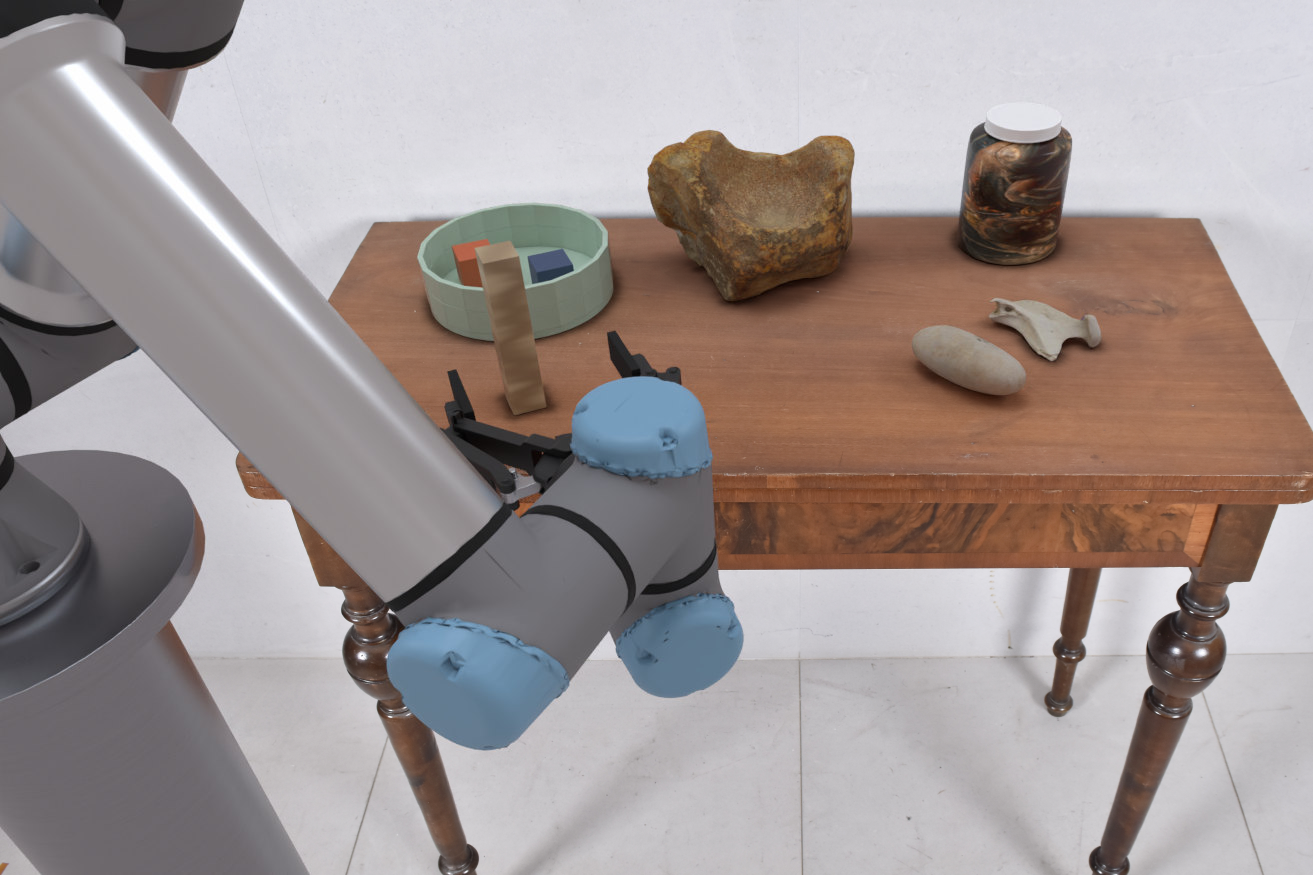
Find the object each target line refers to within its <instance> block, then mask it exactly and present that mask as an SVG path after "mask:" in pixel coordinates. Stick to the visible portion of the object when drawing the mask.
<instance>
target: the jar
mask: <svg viewBox="0 0 1313 875" xmlns="http://www.w3.org/2000/svg"><path fill="white" fill-rule="evenodd" d="M1062 121H1063V115H1062V113H1061V112H1060V111H1059V110H1057V109H1056V108H1054V107H1052V106H1050V105H1047V104H1043V103H1039V102H1033V101H1032V102H1031V101H1011V102H1003V103H1001V104H997V105H995V106H993V107H991V108H989V109H988V110H987V112H986V115H985V121H984V122H981V123H980V124H978V125H977V126H975V127H974V128H973V129H972V130H971V133H970V134H969V139H968V142H967V144H968V145H967V149H966V155H965V162H964V169H963V170H964V171H963V180H962V188H961V197H960V204H959V215H958V227H957V239H956V242H957V244H958V246H959V249H961V250H962V251H963V252H964V254H967V255H968V256H970V257H972V258H974V259H977V260H979V261H982V262H986V263H990V264H994V265H995V264H996V265H1005V266H1006V265H1007V266H1016V265H1017V266H1018V265H1027V264H1031V263H1035V262H1039V261H1041V260H1043V259H1046V258H1047V257H1048V256H1050V255H1051V254H1052V253H1053V252H1054V251H1055V249H1056V247H1057V241H1058V236H1059V232H1060V226H1061V220H1062V214H1063V209H1064V204H1065V198H1066V192H1067V185H1068V179H1069V174H1070V166H1071V162H1072V161H1071V160H1072V153H1073V152H1072V151H1073V137H1072V135H1071V132H1069V130H1068V129H1066V128H1065V127H1063V125H1062Z"/></svg>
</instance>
